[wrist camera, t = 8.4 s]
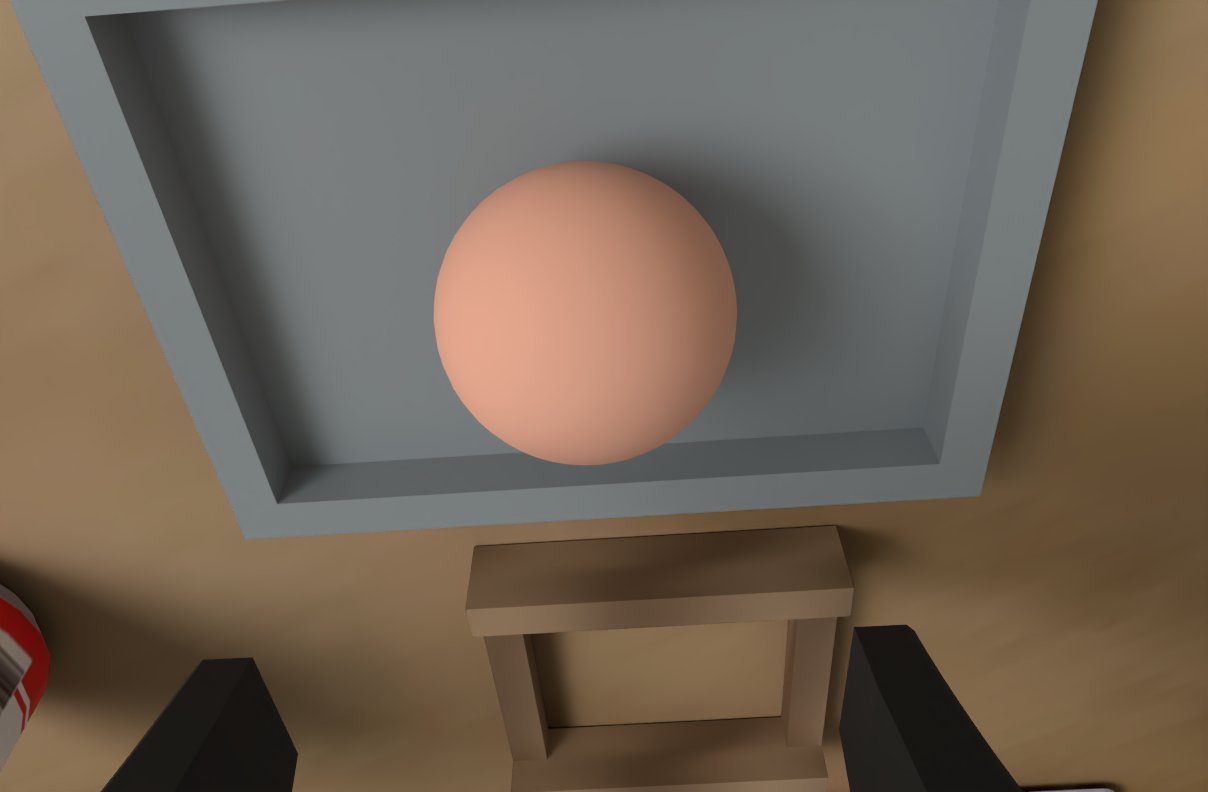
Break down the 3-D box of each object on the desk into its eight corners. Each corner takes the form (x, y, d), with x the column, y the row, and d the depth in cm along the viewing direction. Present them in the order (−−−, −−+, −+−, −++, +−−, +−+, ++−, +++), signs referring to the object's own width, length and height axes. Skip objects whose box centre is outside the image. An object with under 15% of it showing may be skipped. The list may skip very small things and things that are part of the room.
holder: (836, 525, 23) (853, 587, 21) (812, 734, 28) (825, 796, 27) (474, 547, 23) (465, 609, 22) (519, 749, 29) (515, 811, 27)
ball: (714, 102, 16) (766, 235, 12) (716, 345, 19) (758, 516, 15) (425, 129, 16) (380, 268, 12) (472, 366, 19) (448, 541, 15)
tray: (1077, -163, 14) (1132, -147, 13) (953, 441, 21) (979, 495, 20) (46, -77, 15) (-13, -51, 13) (268, 483, 22) (245, 539, 20)
